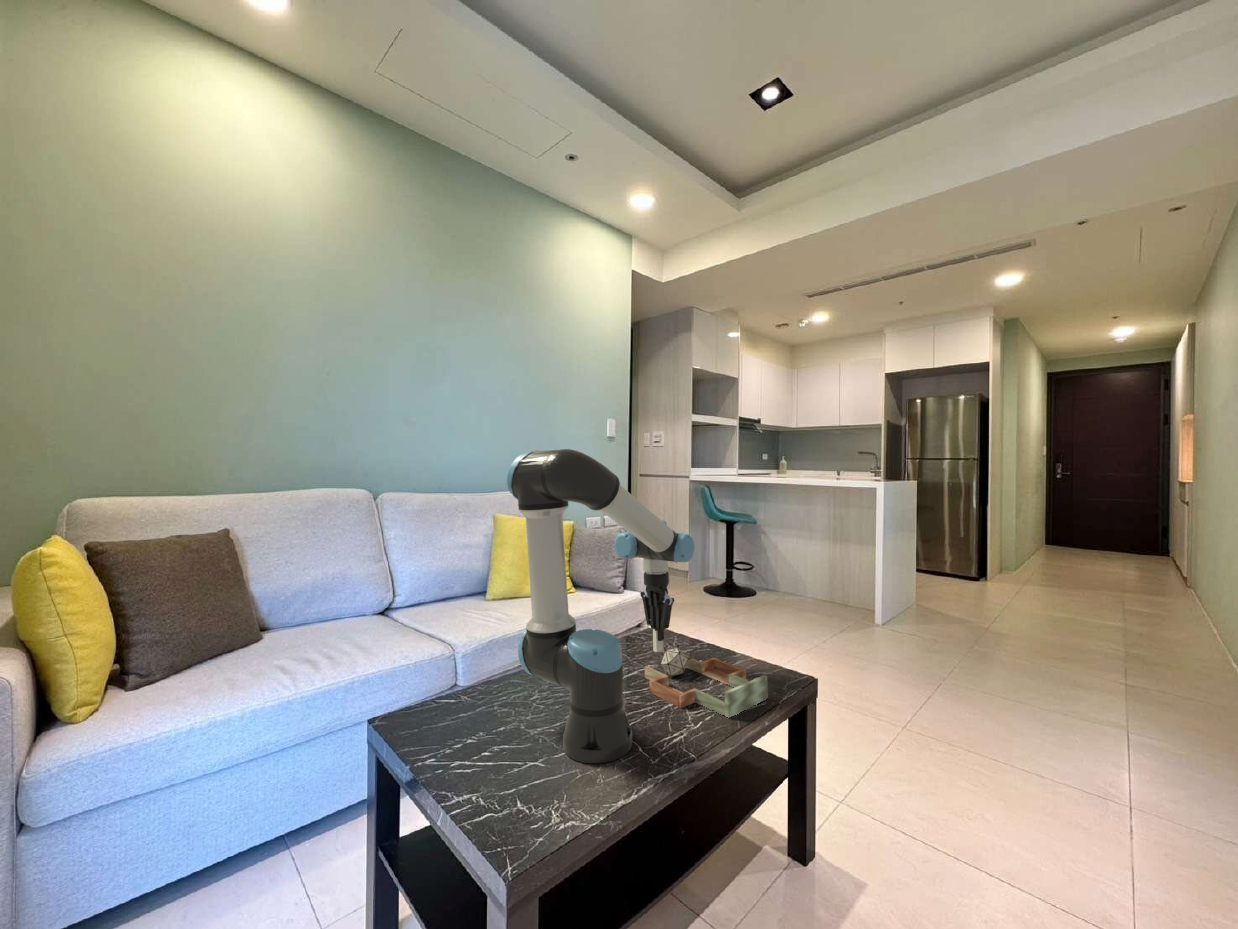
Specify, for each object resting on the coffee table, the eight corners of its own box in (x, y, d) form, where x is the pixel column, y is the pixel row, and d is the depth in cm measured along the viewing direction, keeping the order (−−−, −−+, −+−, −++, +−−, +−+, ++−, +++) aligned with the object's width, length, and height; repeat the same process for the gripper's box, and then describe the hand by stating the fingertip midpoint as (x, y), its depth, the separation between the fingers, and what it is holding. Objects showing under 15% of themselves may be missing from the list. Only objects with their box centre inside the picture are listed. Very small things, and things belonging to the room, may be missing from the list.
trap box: (714, 725, 115) (713, 699, 115) (631, 682, 140) (630, 660, 140) (779, 694, 130) (779, 671, 130) (694, 660, 154) (693, 640, 155)
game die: (681, 690, 142) (693, 669, 137) (653, 680, 142) (664, 658, 137) (683, 664, 150) (695, 643, 145) (657, 654, 150) (667, 633, 145)
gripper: (680, 573, 146) (682, 653, 146) (651, 567, 157) (653, 642, 156) (661, 576, 142) (663, 660, 141) (632, 570, 152) (635, 647, 152)
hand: (658, 650), depth 149 cm, fingers closed
